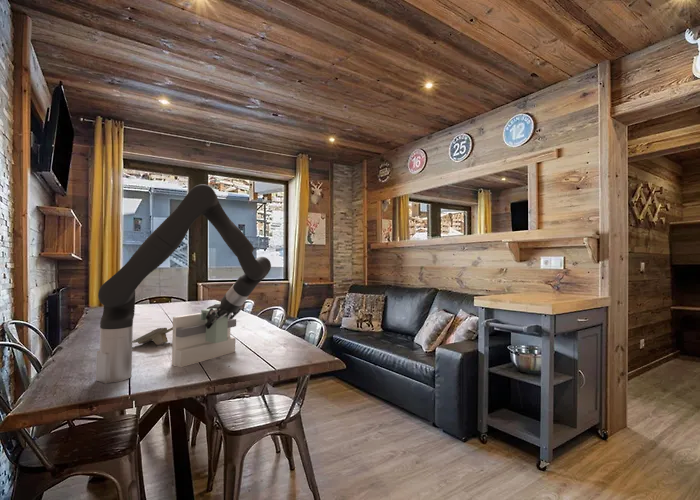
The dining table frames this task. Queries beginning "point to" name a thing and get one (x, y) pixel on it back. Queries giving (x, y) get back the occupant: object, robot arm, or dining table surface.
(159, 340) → the olive slanted plate stand
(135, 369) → the dining table surface
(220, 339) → the sage cabinet
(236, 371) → the dining table surface
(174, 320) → the cleat board
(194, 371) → the dining table surface
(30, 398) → the dining table surface
